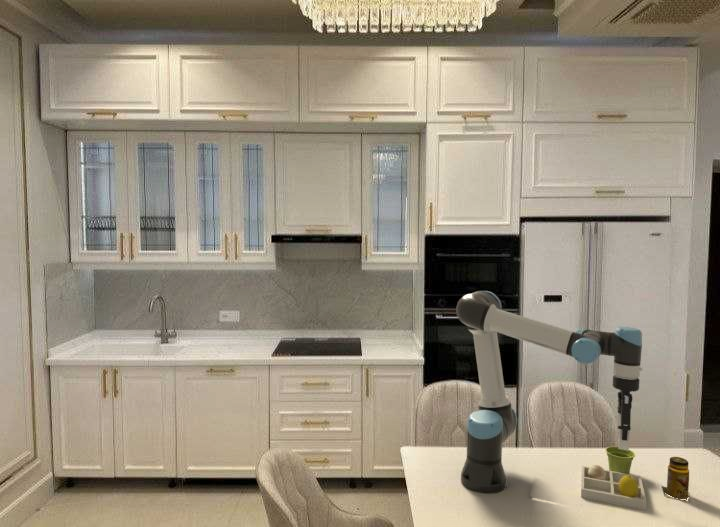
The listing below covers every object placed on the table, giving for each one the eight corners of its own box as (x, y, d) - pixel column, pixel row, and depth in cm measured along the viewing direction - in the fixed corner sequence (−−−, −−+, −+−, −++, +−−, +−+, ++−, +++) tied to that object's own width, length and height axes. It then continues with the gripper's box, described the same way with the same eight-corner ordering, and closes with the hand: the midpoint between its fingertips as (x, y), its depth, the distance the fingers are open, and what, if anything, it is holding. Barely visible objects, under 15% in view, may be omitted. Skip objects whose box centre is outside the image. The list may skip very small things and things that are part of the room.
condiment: (689, 502, 166) (691, 466, 165) (659, 495, 170) (661, 460, 170) (688, 492, 172) (690, 457, 172) (659, 486, 177) (660, 452, 176)
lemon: (640, 505, 162) (641, 480, 162) (621, 503, 163) (622, 478, 163) (634, 496, 168) (635, 472, 167) (615, 494, 169) (617, 470, 168)
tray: (580, 499, 167) (581, 488, 167) (581, 475, 184) (581, 465, 184) (645, 512, 160) (646, 501, 159) (640, 486, 176) (640, 476, 176)
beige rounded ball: (587, 483, 176) (588, 467, 176) (587, 476, 181) (588, 461, 181) (606, 487, 174) (606, 470, 173) (605, 480, 179) (606, 464, 179)
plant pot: (640, 480, 180) (641, 456, 180) (615, 482, 179) (616, 458, 178) (622, 468, 190) (623, 445, 189) (598, 470, 188) (599, 447, 188)
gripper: (643, 388, 152) (638, 459, 153) (636, 368, 175) (632, 430, 176) (614, 384, 155) (610, 454, 156) (611, 365, 178) (608, 426, 179)
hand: (622, 441), depth 166 cm, fingers open, 13 cm apart
